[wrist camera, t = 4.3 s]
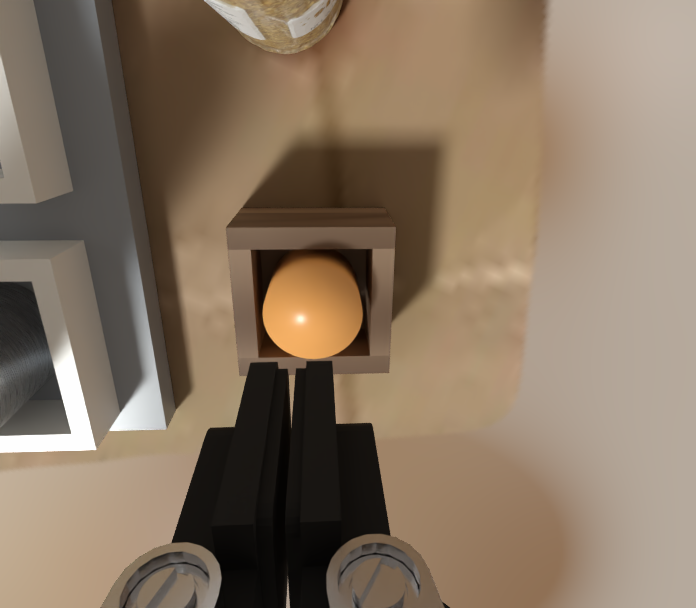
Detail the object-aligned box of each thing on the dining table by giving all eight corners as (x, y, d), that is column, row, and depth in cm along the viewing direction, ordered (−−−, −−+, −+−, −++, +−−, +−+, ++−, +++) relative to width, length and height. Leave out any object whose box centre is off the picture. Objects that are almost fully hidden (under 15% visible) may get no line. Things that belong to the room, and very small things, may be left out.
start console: (241, 208, 20) (225, 227, 17) (384, 207, 20) (395, 226, 17) (251, 336, 22) (239, 375, 19) (379, 334, 22) (389, 372, 19)
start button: (268, 244, 19) (259, 268, 16) (357, 244, 19) (363, 267, 17) (273, 325, 21) (265, 359, 18) (356, 324, 21) (361, 358, 18)
